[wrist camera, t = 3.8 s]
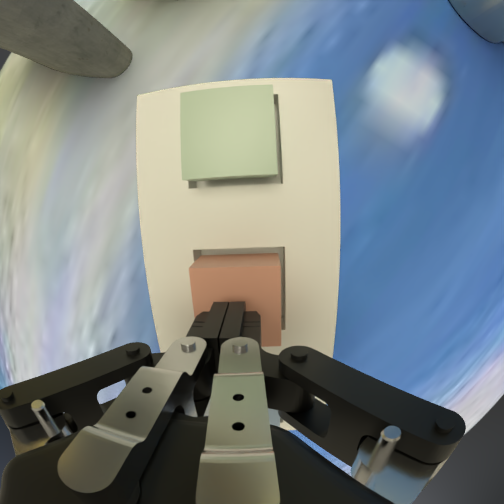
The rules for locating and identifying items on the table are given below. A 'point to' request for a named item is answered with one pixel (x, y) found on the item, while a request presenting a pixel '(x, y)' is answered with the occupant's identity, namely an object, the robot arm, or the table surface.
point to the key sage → (228, 133)
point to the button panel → (246, 212)
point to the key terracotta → (241, 287)
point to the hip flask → (61, 38)
